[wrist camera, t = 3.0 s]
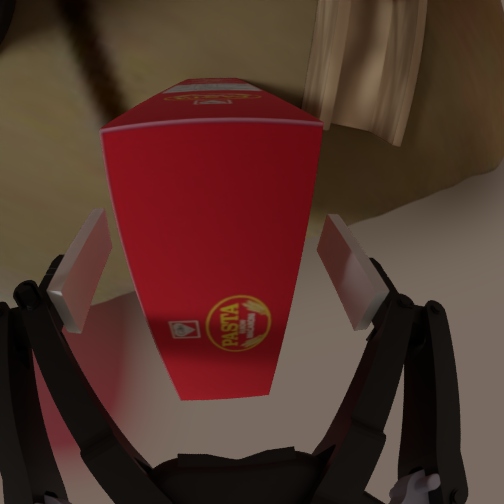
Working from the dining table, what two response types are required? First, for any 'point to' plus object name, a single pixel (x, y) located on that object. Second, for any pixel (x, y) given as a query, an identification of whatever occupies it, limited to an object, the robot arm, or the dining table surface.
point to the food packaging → (214, 226)
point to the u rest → (365, 64)
